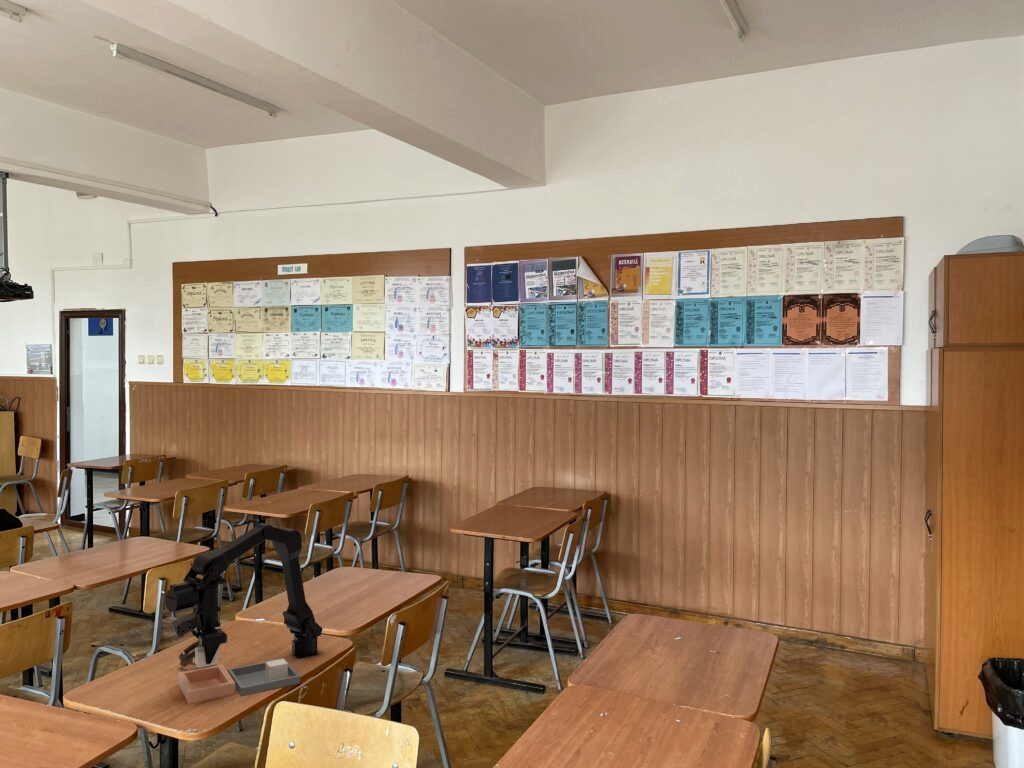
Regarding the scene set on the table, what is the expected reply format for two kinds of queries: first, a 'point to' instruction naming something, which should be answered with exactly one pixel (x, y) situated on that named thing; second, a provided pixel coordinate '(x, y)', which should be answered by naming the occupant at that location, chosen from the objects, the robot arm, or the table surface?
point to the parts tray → (259, 679)
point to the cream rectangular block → (203, 658)
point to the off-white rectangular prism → (276, 669)
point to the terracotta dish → (206, 683)
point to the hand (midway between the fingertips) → (206, 661)
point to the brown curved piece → (189, 655)
